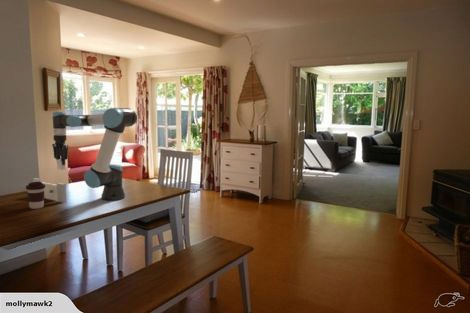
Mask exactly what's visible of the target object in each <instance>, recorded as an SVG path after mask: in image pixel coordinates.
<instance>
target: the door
mask: <svg viewBox="0 0 470 313" xmlns="http://www.w3.org/2000/svg"><path fill="white" fill-rule="evenodd" d="M39 182H42V183H43V184H45V188H44V198H47V199H46V200H48V199H52V200H51V201H53V200H58V196H57V184H54V183H48V182H45V181H42V180H40V181H39Z"/></svg>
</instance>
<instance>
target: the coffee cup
mask: <svg viewBox="0 0 470 313" xmlns="http://www.w3.org/2000/svg"><path fill="white" fill-rule="evenodd" d="M42 182H43V181H42ZM42 182H33V181H32V182H29V183H28V185H25V190H27V192H26V194H27V200H28V205H29V208H30V209H32V210H33V209H35V210H36V209H40V208H44V206H45V205H44V204H45V199H44V188H45V184H43V183H42Z"/></svg>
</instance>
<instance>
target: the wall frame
mask: <svg viewBox="0 0 470 313" xmlns="http://www.w3.org/2000/svg"><path fill="white" fill-rule="evenodd" d="M39 181H41V178H38V177H37V178H36V177H35V178H34V177H33V180H32V182H39ZM56 185H57V196H58V200H52V199H47V198H44V200H45V199H46V200H49V201H53V202H57V203H62V204H65V203H66V202H67V189H66V183H63V182H58V183H56Z"/></svg>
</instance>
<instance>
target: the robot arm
mask: <svg viewBox="0 0 470 313" xmlns="http://www.w3.org/2000/svg"><path fill="white" fill-rule="evenodd" d="M137 121H138V115H137V112H136V111H135V110H134V109H132V108H128V107H111V108H107V109H106V110H105V111H104V113H96V114H95V113H94V114H81V115H80V114H66V112H65V111H59V110H58V111H53V112H52V127H53V129H52V130H53V141H54V143H52V149H53V151H52V152H53V158H54V159H55V160H56V169H57V170H60V171H65V170H66V160H68V159H69V158H68V156H69V155H68V154H69V153H68V152H69V145H68V144H66V141H67V127H68V128H69V127H70V128H76V127H94V126H103V127H104V129H105V131H104V134H103V137H102V140H101V143H100V146H99V150H98V151H97V152H98V153H97V155H96V158H95V162H94V163H92V164H91V166H90V169H88V170H86V171H85V172H84V174H83V179H84V180H83V181H84V183H85V185H87V186H88V187H89V188H91V189H97V188H98V189H99V188H100V187H103V189H102V193H101V199H102V201H103V200H104V201H111V202H112V201H119V200H123V199H125V198H126V193H125V190H124V188H123V187H124V186H123V167H122V165H120V164H116V163H115V164H113V163H111V162H112V159H113V156H114V154H115V153H114V152H115V150H116V148H117V144H118V142H119V141H118V140H119V138H120V135H121V134H124V132H125V129H126V128H128V127H129V128H130V127H132V126H134V125H135V124H136V123H137Z"/></svg>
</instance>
